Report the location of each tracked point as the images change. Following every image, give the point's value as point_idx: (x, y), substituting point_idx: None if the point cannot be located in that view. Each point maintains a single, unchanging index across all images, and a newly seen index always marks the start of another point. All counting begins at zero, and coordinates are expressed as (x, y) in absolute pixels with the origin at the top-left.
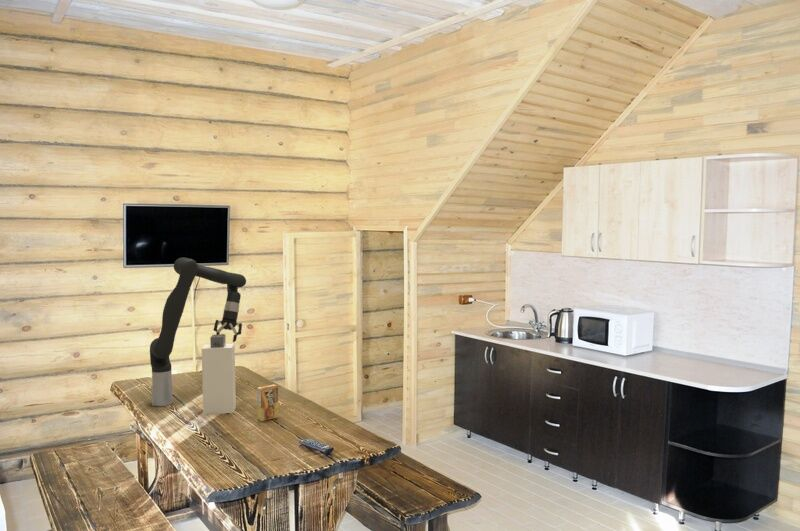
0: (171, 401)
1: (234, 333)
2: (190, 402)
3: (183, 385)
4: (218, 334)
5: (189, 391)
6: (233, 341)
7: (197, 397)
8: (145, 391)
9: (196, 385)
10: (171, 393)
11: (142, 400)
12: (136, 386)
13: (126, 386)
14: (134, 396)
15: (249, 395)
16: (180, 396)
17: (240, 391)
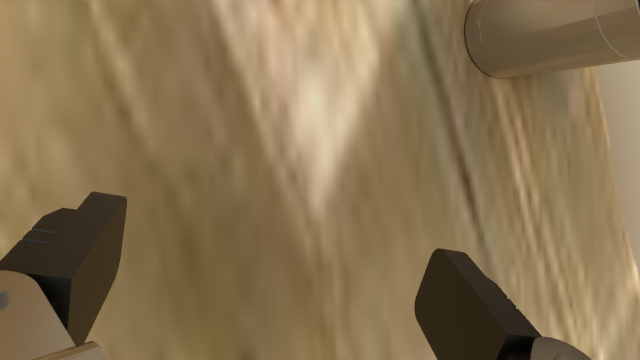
0: (476, 9)
1: (37, 302)
2: (384, 15)
3: (430, 354)
4: (491, 303)
5: (398, 234)
6: (106, 194)
7: (355, 104)
8: (570, 268)
9: (370, 349)
10: (505, 2)
11: (574, 122)
12: (602, 353)
13: (632, 357)
14: (602, 195)
15: (20, 55)
16: (435, 147)
17: (96, 175)
